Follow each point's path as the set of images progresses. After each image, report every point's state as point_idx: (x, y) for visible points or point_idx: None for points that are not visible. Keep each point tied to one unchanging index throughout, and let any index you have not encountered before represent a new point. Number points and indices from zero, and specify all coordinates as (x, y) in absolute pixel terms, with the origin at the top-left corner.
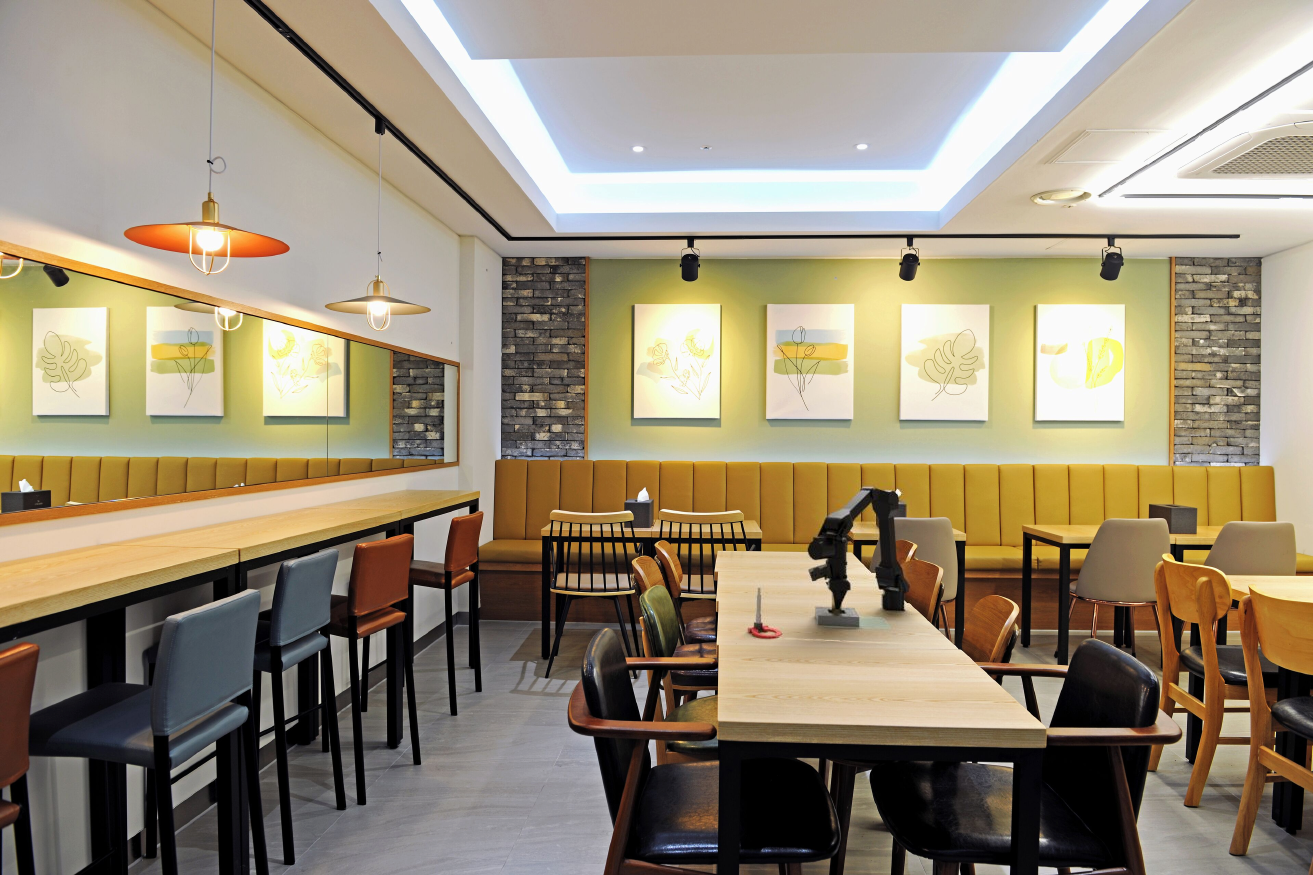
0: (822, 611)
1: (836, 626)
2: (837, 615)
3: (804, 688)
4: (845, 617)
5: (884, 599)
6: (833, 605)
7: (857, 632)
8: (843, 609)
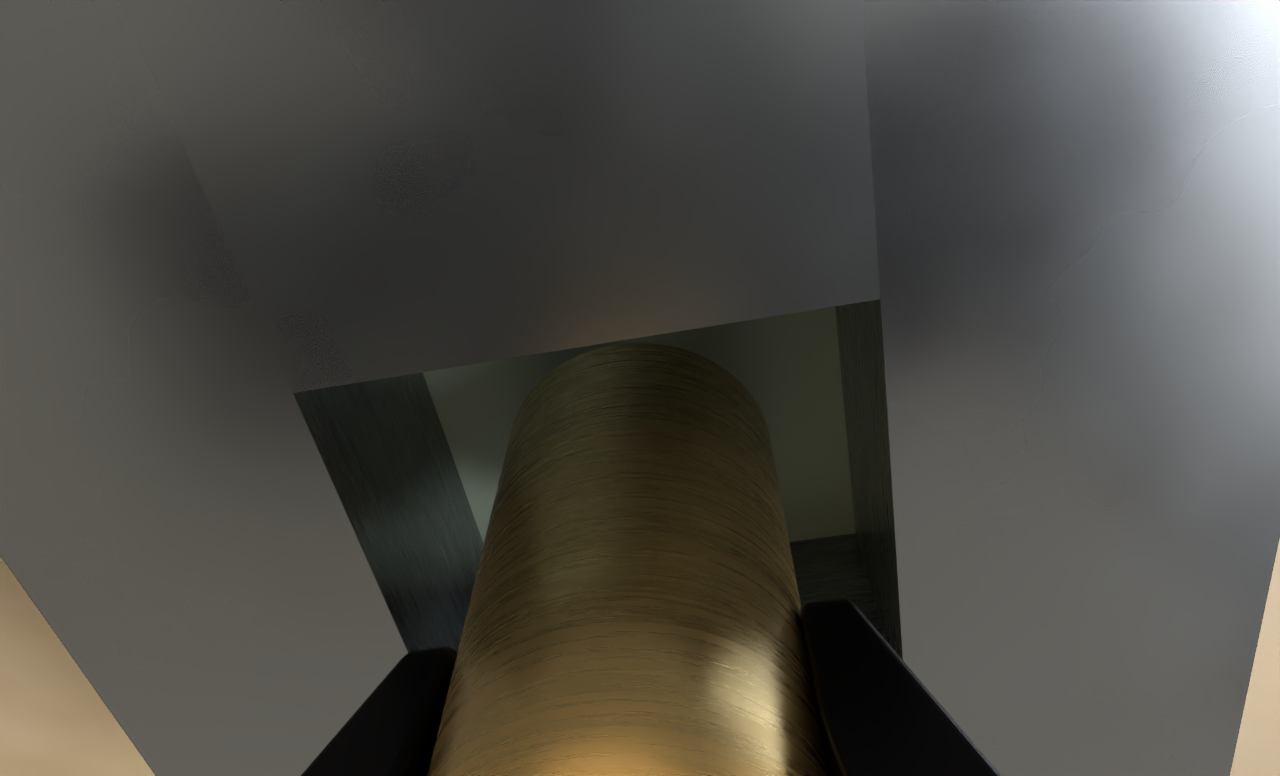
0: (440, 152)
1: None
2: (124, 617)
3: None
4: (164, 743)
5: None
6: (469, 670)
7: (59, 730)
8: (967, 699)
